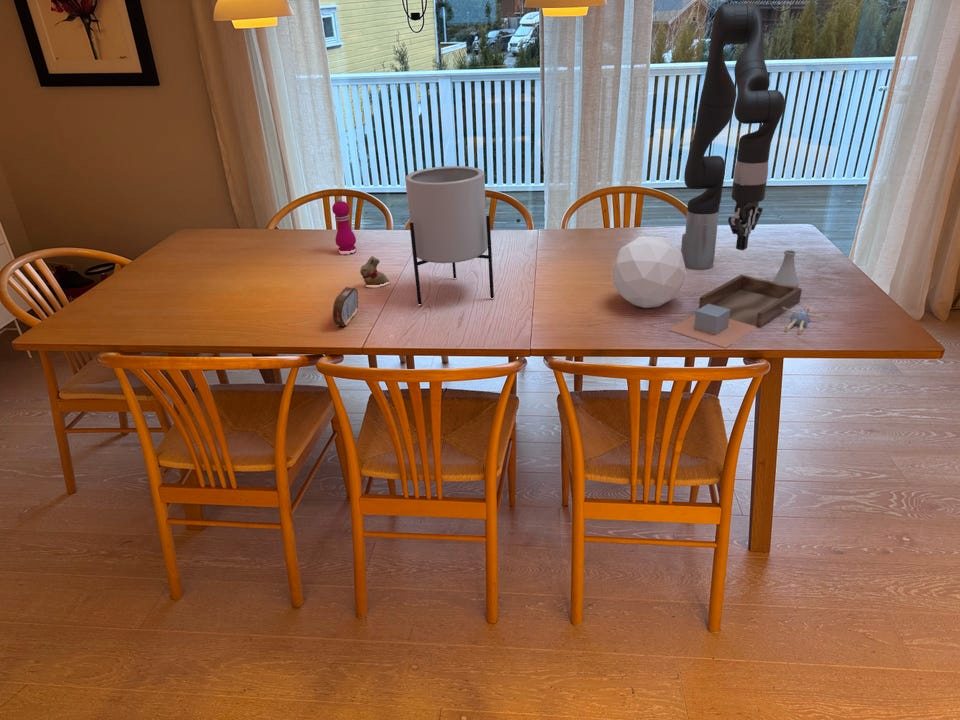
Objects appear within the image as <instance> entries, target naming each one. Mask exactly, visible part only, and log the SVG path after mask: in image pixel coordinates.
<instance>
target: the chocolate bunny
mask: <svg viewBox="0 0 960 720" xmlns="http://www.w3.org/2000/svg"><path fill="white" fill-rule="evenodd" d="M379 264H380V259H378V258H376V257H375V256H373V255H372V256H370V257H369V259H368V260H367V261H366V262H365V263H364V264H363V265H361V267H360V270H359V272H360V275H361V276H362V279H363V282H364V283H365V285H380V284H384V283H386V282H389V281H390V280H389V279H388V277H387V276H386V274H385V273H383V272H381V271H378V269H377V267H378V265H379Z"/></svg>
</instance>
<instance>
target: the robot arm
mask: <svg viewBox="0 0 960 720" xmlns="http://www.w3.org/2000/svg"><path fill="white" fill-rule="evenodd" d="M712 21H713V22H712V26H711V35H710V40H709V41H710V42H709V50H708V58H707V65H706V70H705V75H704V79H703V85H702V89H701V93H700V99H699V104H698V107H697V108H698V110H697V115H696V122H695V128H694V133H693V137H692V141H691V145H690V148H689V151H688V155H687V158H686V159H687V160H686V164H685V167H684V173H683V175H684V176H683V177H684V178H683V179H684V185H685V187H686V188H688V189H690V190H699V189H700V190H701V189H703V190H705V189H706V190H705V191H704V192H702V193H701V194H699V195H698V196H695V197H693V198H691V199H690V200H688V201H687V209H686V221H685V233H682V237H681V245H680V247H681V249H680V251H681V252H682V256H683V260H684V264H685V268H688V269H691V270H692V269H693V270H705V269H706V270H707V269H710V268H712V267H714V264H715V263H714V262H715V255H716V254H715V253H716V245H717V233H718V224H719V215H720V205H721V201H722V194H723V188H724V182H725V174H726V162H725V160H724V158H723V156H720V155H706V152H707V149H708V148H709V146H710V145H711V143H712V142H713V141H714V140H715V139H716V138H717V137H718V135H720V134H721V133H722V131H723V130H724V129H725V128H726V126H727V125H728V124H729V123H730V121H731V119H732V116H733V113H734V118H735V119H736V121H738V122H739V123H740V124H742V125H751V124H753V125H754V124H761V126H760V127H759V128H758V129H757V130H755V131H752V132H749V133H745V134H743V135H742V136H740V138H739V141H738V145H737V146H738V147H737V155H736V163H735V167H734V170H733V179H732V181H733V182H732V188H731V199H732V200H733V201H735V208H734V210H733V211H734V214H733V216H729V217H728V220H727V222H728V225H729V228H730V230H731V233H732V234H733V235H737V236H736V245H735V248H736V250H738V251H739V250H740V251H745V250H746V249H748V243H749V238H750V237H749V236H750V235H751V233H752V231H755V228H756V227H757V224H758V222H759V219H760V217H761V216H762V213H763V211H764V210H763V207H760V206H759V203H760V202H762V201H764V200H765V196H766V188H767V183H768V175H769V158H770V151H771V145H772V141H773V138H774V135H775V133H776V129H777V127H778V125H779V122H780V120H781V119H782V118H781V117H782V115H783V113H784V111H785V105H786V102H785V101H786V100H785V97H784V95H783V93H782V91H780V90H776V89H769V88H770V83H771V82H770V77H769V76H770V75H769V72H768V70H767V65H766V60H765V53H764V31H763V30H764V29H763V28H764V27H763V16H762V12H761V9H760V7H759V5H757V4H756V3H746V2H745V3H726V4H725V3H724V4H720V5H718V8H716V10H715V13H714V16H713V20H712ZM745 44H747V45H746V47H745V48H744V49H743V51H742V52H741V53H740V54H739V56H738V58H737V60H736V62H735V64H734V69H733V71H734V73H733V74H734V79H735V82H736V83H735V84H736V86H735V84H734V81H733V79H732V76H731V75H730V73H729V70H728V68H727V65H726V62H725V57H724V49H725V46H726V45H745ZM736 87H737V88H736Z"/></svg>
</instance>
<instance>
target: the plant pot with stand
mask: <svg viewBox="0 0 960 720" xmlns="http://www.w3.org/2000/svg"><path fill="white" fill-rule="evenodd" d="M404 182H405V188H406V198H407V205H408V215H409V232H410V241H411V242H410V243H411V249H412V259H413V260H412V261H413V270H414V277H415V287H416V297H417V305H418V304H422V293H421V284H420V275H419V266H421V265H425V264H427V263H434V264H452V265H451V266H452V274H453V275H452V276H453V279H454V278H456V279H457V270H456V269H457V268H456V263H462V262H466V261H471V260H473V259H485V260H486V259H487V260H488V274H489V275H488V277H489V279H488V281H489V296H490V297H491V298H493V297H494V298H495V293H494V273H493V272H494V269H493V251H492V236H491V235H492V233H491V232H492V231H491V217H490V216H491V215H487V208H486V207H487V206H486V205H487V203H486V187H485V186H486V185H485V183H486V182H485V172H484V170H483V169H481V168H478V167H474V166H467V165H466V166H465V165H446V166H445V165H444V166H434V167H429V168H423V169H419V170H414V171H413V172H410V173H408V174H407V175H406V176H405V181H404ZM486 251H487V254H485V252H486ZM418 259H419V261H418ZM422 305H423V304H422Z"/></svg>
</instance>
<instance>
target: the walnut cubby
mask: <svg viewBox="0 0 960 720" xmlns="http://www.w3.org/2000/svg"><path fill="white" fill-rule="evenodd" d="M802 290H803V289H802V288H801V287H793V286H788V285H784V284H780V283H775V282H773V281H771V280H767V279H766V280H765V279H762V278H757V277H753V276H749V275H743V274H740V275H738V276H736V277H733V279H731V280H729V281H727V282H724V283H723V284H721V285H719V286H718V287H716V288H714V289H712V290H710V291H708V292H707V293H705V294H703V295H701V296H699V303H698V309H700V308H702V307H703V306H705V305H707V304H712V305H715V306H719V307H723V308H726V309H730V315H729V319H732V320H735V321H739V322H742V323H746V324H749V325H753V326H756V327H757V328H762V327H764V326H766V325H767V324H769V323H770V322H771V321H773V320H775V319H776V318H777V317H779V316H781V315H782V314H784V313H785V312H786V311H787V310H784V309H782V308H783V307H782V306H784V307H785V308H786V309H788V310H791V308H792V307H794V306H796V305H797V304H799V303H800V301H801V295H802ZM781 307H782V308H781Z"/></svg>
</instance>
